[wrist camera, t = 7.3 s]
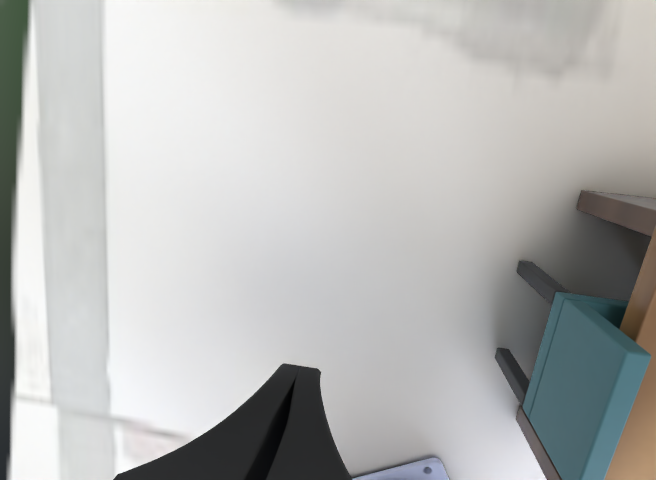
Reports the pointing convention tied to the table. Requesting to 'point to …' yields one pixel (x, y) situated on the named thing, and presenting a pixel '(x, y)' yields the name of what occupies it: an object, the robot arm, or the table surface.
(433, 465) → the robot arm
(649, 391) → the desk
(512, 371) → the chair
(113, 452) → the table surface
